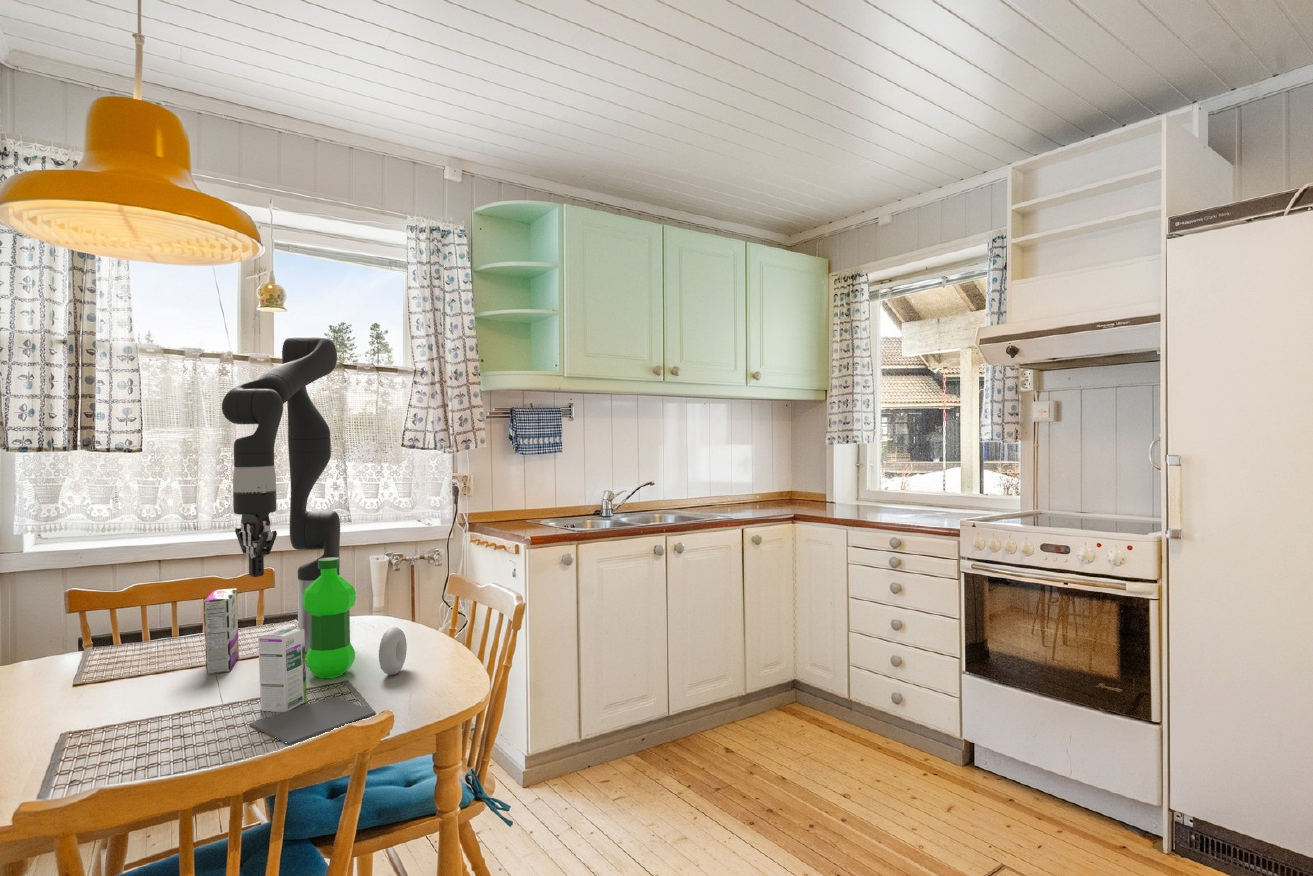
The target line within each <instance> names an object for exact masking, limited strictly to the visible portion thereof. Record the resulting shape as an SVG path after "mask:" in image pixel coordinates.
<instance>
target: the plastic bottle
mask: <svg viewBox="0 0 1313 876" xmlns="http://www.w3.org/2000/svg"><path fill="white" fill-rule="evenodd" d="M338 567H339V568H340V567H341V566H340V557H339V558H336V557H331V558H322V559H319V560H318V568H319V569H321V576H320V577H318V578H317V579H316V580H315V581H314V582H313V583H312V584H310V585H309V586H308V587H307V588H306V589H305V591H304V594H303V605H304V609H305V610H306V611H307V612H308V613H309V614H310V648H309V649H308V651H307V652H306V653H305V665H306V667H307V668H308V670H309V671H310V672H311V673H312V675H313V674H314V675H315V676H316V677H317V678H318V679H323V678H327V679H334V678H337V677H341V676H343V675H344V674H343V673H345V672H346V671H347V670H348V669H350V668H351V667H352V665H353V663H354V662H355V659H356V652H355V649H354V646H353V645H352V644H351V625H350V623H351V621H350V619H351V618H350V615H351V614H350V610H351V609H352V608H353V607H354V606H355V604H356V595H357V593H356V589H355V587H354V586H353V585H352V584H350V583H349V581H347V580H346V579H344V578H343V577H342V576H341V575H337V568H338Z"/></svg>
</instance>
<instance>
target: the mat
mask: <svg viewBox="0 0 1313 876" xmlns="http://www.w3.org/2000/svg"><path fill="white" fill-rule="evenodd" d="M373 715H376V711H374V710H371V709H369V708H367V707H364V706H361V705H359V704H356V703H354V702H351V701H348V700H346V699H344V698H341V697H338V696H336V695H333V696H330V697H327V698H324V699H322V700H318V701H315V702H312V703H309V704H305V705H302V706H299V707H295V708H293V709H291V710H289V711H286V712H283V713H282V712H279V713H278V714H277V713H276V714H274V715H271V716H268V717H265V718H262V719H259V720H258V719H257V720H255V721H252V722H249V724H248V725H249V727H252V728H253V729H255V728H256V729H255V730H257V729H258V730H257V731H259V730H260V731H259V732H261V731H262V733H263V732H265V733H266V734H265V733H264V734H265V735H267V734H268V736H269V735H270V737H271V736H272V738H273V737H276V738H278V739H279V740H282V741H284V742H287V743H288V744H286V745H287V746H290V745H292V744H296V743H298V742H300V741H304V740H306V739H309V738H311V737H312V738H313V737H315V736H317V735H320V734H323V733H326V732H329V731H331V730H330V729H332V728H335V729H337V728H339V727H338V726H340V727H342V726H341V725H343V726H345V725H344V724H345V723H349V722H351V723H353V722H352V721H353V720H357V719H360V720H363V719H365V718H368V717H371V716H373ZM364 717H365V718H364ZM362 718H363V719H362ZM357 721H358V720H357ZM349 724H350V723H349ZM336 727H337V728H336ZM332 730H333V729H332ZM322 732H323V733H322ZM308 737H309V738H308ZM279 740H278V741H279Z"/></svg>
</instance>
